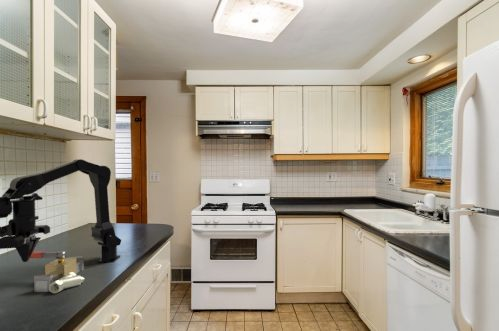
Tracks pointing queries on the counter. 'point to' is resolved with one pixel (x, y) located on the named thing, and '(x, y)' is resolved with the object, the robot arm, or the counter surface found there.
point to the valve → (57, 272)
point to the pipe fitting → (66, 282)
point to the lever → (49, 254)
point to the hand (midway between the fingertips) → (25, 261)
